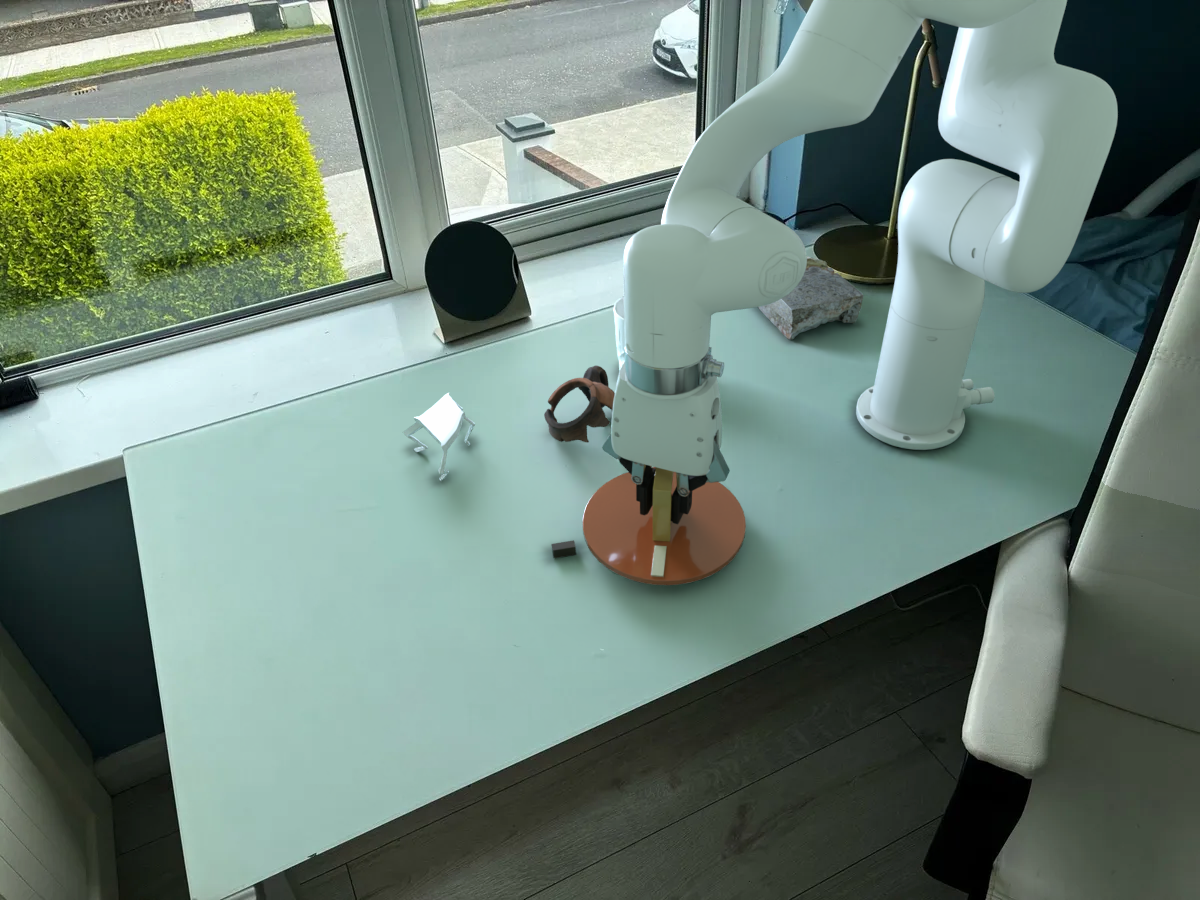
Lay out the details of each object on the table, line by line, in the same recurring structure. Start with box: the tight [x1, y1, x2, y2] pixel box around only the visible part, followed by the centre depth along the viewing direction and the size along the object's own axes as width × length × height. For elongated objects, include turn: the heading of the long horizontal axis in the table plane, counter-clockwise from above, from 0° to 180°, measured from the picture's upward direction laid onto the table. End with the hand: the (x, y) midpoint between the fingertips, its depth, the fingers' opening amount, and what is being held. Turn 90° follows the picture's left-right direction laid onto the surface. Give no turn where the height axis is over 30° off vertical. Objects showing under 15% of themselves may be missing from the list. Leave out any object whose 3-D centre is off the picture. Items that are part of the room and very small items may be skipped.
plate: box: [581, 466, 747, 586], centre depth 92 cm, size 17×17×8 cm
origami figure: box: [402, 391, 476, 482], centre depth 106 cm, size 12×8×5 cm
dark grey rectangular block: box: [551, 540, 577, 559], centre depth 95 cm, size 17×10×2 cm, turn 101°
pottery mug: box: [543, 365, 615, 444], centre depth 109 cm, size 12×10×8 cm
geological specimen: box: [757, 255, 864, 341], centre depth 128 cm, size 11×6×15 cm
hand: (663, 509), depth 93 cm, fingers closed on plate, 2 cm apart
